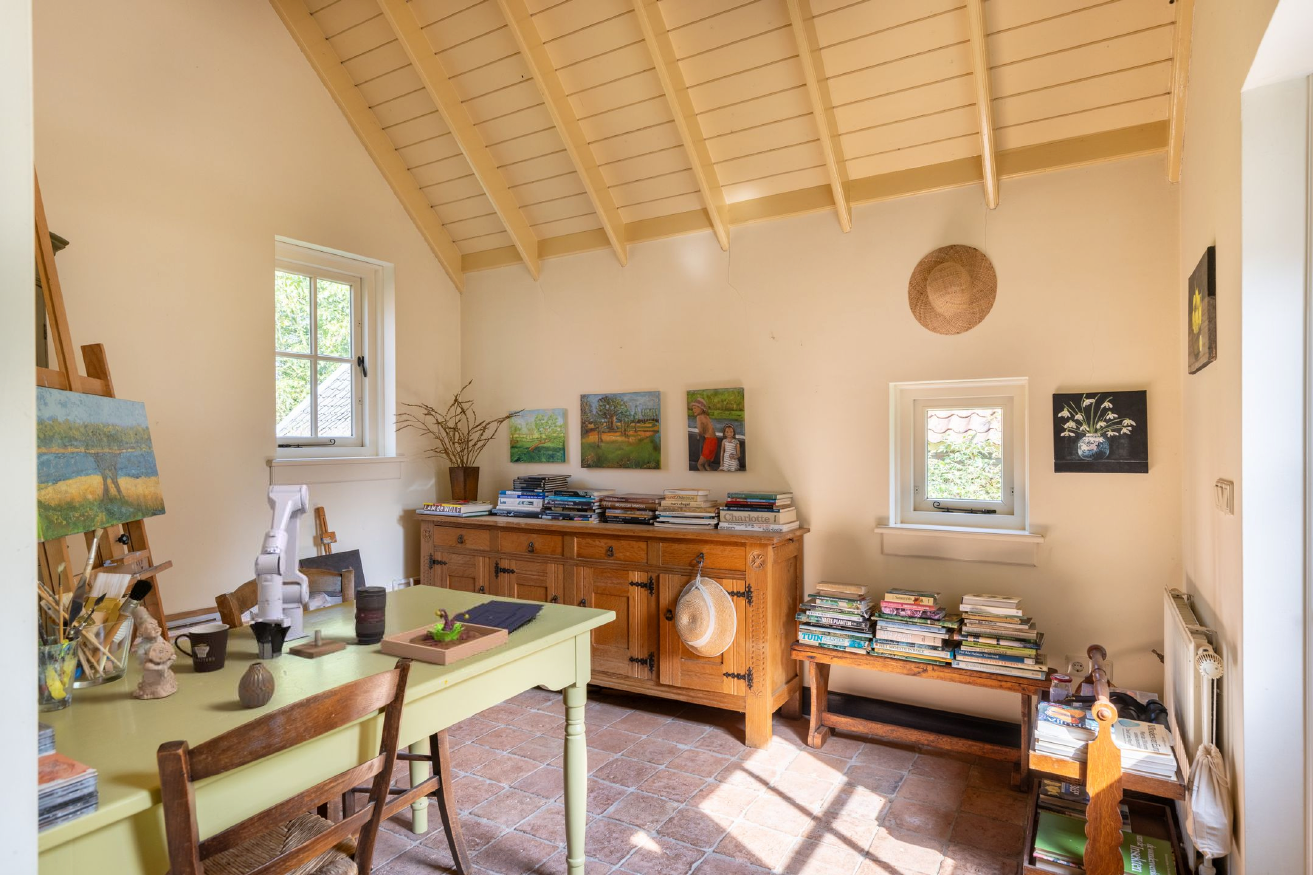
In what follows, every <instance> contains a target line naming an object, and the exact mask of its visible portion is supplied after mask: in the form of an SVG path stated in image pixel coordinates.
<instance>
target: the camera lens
mask: <svg viewBox="0 0 1313 875" xmlns="http://www.w3.org/2000/svg"><path fill="white" fill-rule="evenodd" d="M386 606H387V588H386V587H385V586H377V585H376V586H373V585H371V586H360V587H358V588H357V589H356V593H355V613H354V620H355V625H354V632H355V637H356V639H357V644H359V645H372V644H378V643H381V639H384V635H385V633H386Z"/></svg>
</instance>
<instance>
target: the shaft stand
mask: <svg viewBox="0 0 1313 875" xmlns="http://www.w3.org/2000/svg"><path fill="white" fill-rule="evenodd" d="M346 649H347V643H346V642H342V641H336V640H331V639H325V638H322V629H317V630H314V640H312V641H309V642H305V643H302V644H297V645H294V646H290V647H289V648H288V652H289V654H292V655H295V656H300V657H304V658H309V659H317V658H321V657H322V656H326V655H330V654H333V653H337V652H340V651H344V650H346Z"/></svg>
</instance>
